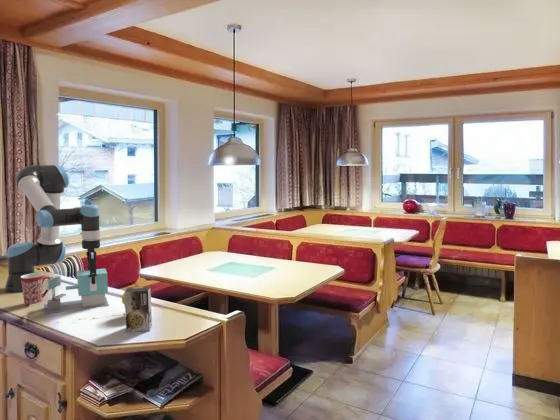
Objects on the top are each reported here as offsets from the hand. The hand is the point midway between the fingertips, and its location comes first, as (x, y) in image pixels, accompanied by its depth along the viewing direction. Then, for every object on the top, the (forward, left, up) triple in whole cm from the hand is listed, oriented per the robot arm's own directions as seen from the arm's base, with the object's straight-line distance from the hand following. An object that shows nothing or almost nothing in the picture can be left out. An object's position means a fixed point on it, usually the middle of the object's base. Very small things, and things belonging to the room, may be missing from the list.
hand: (92, 287), depth 206 cm
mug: (-15, -23, -9) cm, 29 cm away
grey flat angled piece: (-1, -15, -4) cm, 15 cm away
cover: (0, -2, -2) cm, 3 cm away
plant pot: (+23, +15, -9) cm, 29 cm away
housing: (0, -7, -8) cm, 11 cm away
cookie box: (+39, +14, -9) cm, 43 cm away
